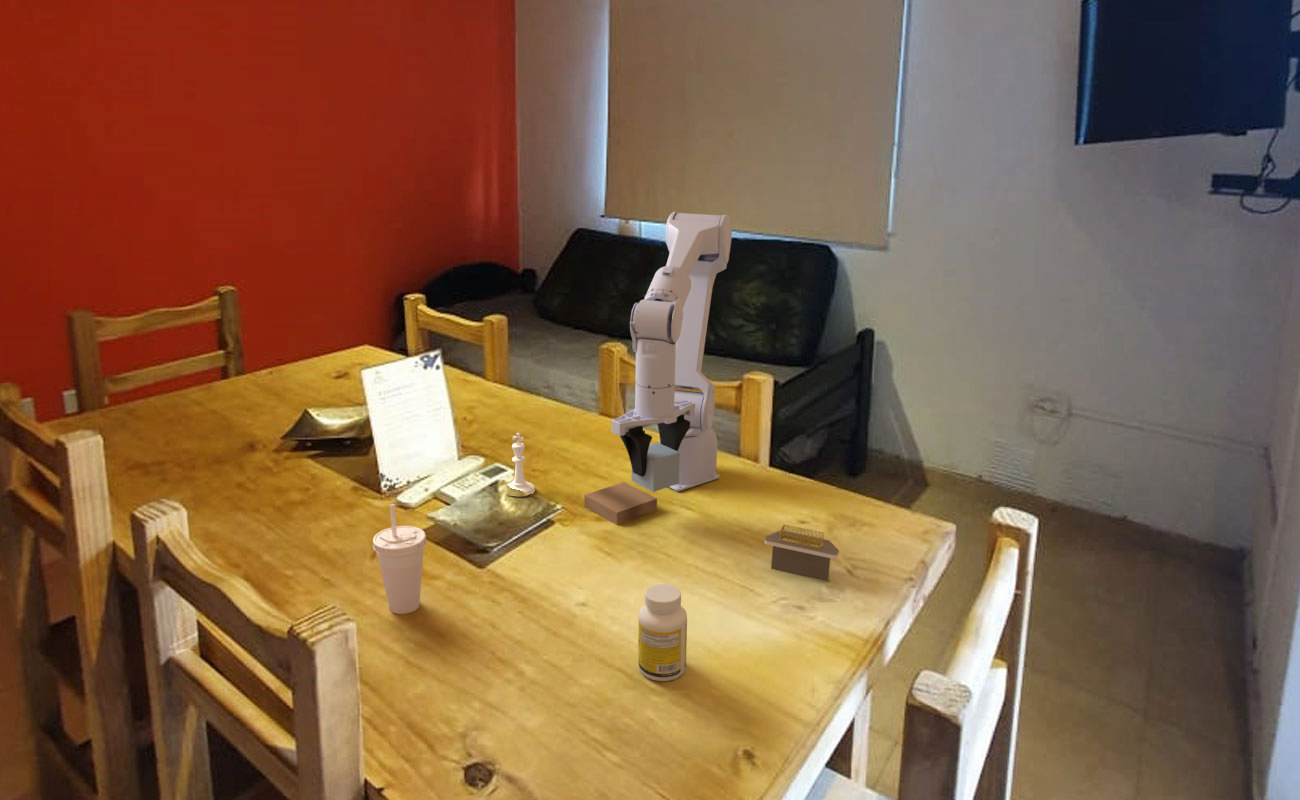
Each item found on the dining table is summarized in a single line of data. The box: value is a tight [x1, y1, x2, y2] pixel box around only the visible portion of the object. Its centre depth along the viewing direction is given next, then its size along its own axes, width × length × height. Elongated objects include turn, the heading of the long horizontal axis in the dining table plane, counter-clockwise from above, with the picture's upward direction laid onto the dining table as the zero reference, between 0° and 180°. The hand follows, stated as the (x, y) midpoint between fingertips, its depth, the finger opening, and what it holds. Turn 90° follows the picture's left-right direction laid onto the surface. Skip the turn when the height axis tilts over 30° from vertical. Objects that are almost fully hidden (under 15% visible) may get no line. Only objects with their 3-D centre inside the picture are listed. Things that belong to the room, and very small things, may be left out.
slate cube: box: [631, 442, 680, 493], centre depth 139 cm, size 5×5×5 cm
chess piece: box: [506, 432, 536, 495], centre depth 149 cm, size 5×5×10 cm
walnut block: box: [583, 481, 658, 526], centre depth 145 cm, size 8×8×2 cm
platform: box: [764, 524, 840, 583], centre depth 127 cm, size 12×18×7 cm, turn 66°
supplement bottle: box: [638, 583, 688, 682], centre depth 105 cm, size 5×5×10 cm
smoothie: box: [372, 503, 428, 615], centre depth 115 cm, size 6×6×14 cm
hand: (653, 469), depth 139 cm, fingers closed on slate cube, 5 cm apart
